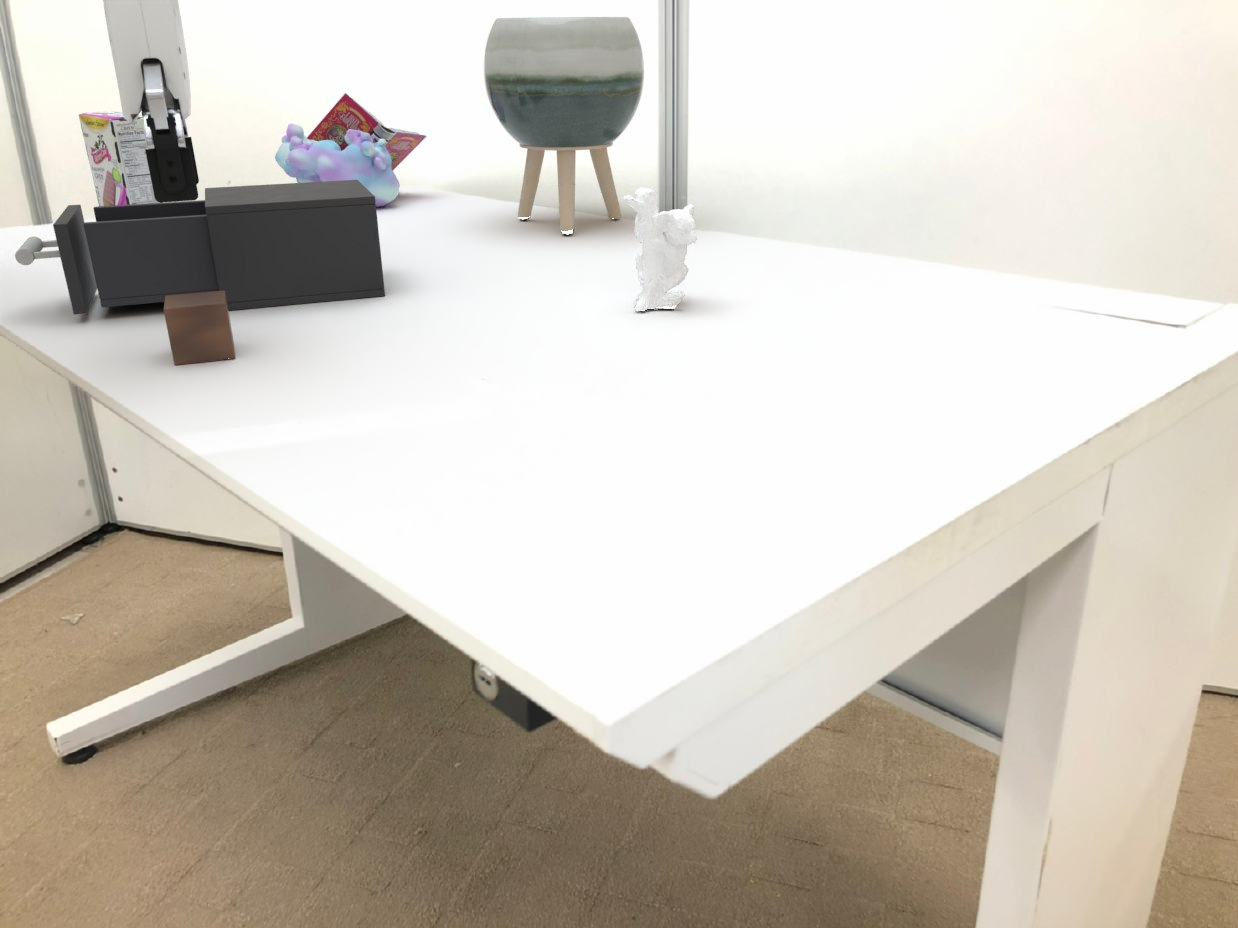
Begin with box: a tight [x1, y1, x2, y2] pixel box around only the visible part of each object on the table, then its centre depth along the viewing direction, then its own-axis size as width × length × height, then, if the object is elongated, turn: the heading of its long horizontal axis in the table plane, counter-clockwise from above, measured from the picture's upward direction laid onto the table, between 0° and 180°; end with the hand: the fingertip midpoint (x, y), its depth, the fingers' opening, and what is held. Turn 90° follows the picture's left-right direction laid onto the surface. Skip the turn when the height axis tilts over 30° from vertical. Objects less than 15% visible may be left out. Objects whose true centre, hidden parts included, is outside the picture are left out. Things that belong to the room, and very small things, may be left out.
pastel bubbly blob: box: [274, 92, 427, 208], centre depth 163 cm, size 20×22×18 cm
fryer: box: [204, 180, 386, 312], centre depth 109 cm, size 17×14×11 cm
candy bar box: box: [78, 110, 161, 206], centre depth 137 cm, size 11×5×16 cm, turn 46°
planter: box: [483, 16, 645, 231], centre depth 141 cm, size 22×22×28 cm
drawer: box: [14, 199, 219, 316], centre depth 104 cm, size 20×12×9 cm, turn 111°
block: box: [163, 291, 236, 366], centre depth 88 cm, size 5×5×5 cm
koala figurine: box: [622, 186, 698, 312], centre depth 101 cm, size 8×7×12 cm
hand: (178, 192), depth 84 cm, fingers open, 9 cm apart
